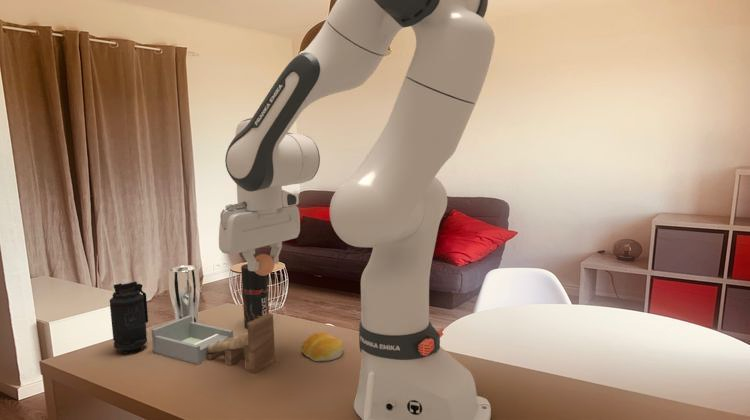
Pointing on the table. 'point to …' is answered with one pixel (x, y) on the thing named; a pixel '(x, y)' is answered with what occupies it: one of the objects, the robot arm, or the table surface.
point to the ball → (264, 264)
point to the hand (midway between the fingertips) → (263, 267)
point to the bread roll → (322, 347)
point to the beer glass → (185, 291)
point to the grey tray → (186, 339)
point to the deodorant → (254, 295)
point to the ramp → (248, 346)
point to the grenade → (129, 317)
